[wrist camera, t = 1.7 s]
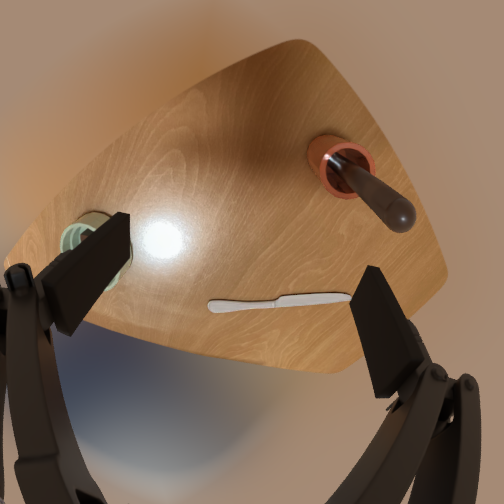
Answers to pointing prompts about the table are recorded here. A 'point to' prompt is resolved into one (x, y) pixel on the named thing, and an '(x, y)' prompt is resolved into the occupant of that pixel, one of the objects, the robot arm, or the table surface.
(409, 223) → the stick
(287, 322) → the table surface
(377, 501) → the robot arm
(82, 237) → the block
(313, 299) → the butter knife
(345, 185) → the holder
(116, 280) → the bowl
